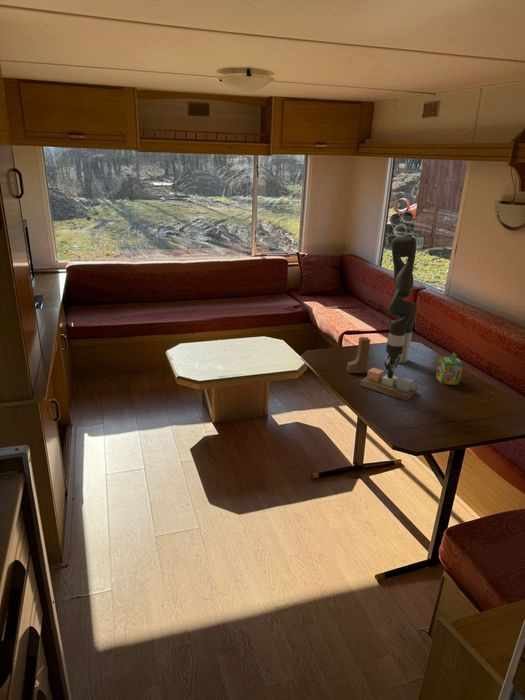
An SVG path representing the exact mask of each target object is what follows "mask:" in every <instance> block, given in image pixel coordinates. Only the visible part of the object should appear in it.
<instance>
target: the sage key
mask: <svg viewBox="0 0 525 700" xmlns="http://www.w3.org/2000/svg"><path fill="white" fill-rule="evenodd" d="M387 375H388V373H387V374H385V375H383V376H384V377H382V382H381V384H383V385H386V386H389V387H394V386H396V385H397V380H398V379H399V377H397V376H394V375H393V377H392V378H388V377H387Z"/></svg>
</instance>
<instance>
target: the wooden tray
mask: <svg viewBox="0 0 525 700" xmlns="http://www.w3.org/2000/svg"><path fill="white" fill-rule="evenodd" d="M384 376H385V375H383V377H384ZM381 382H382V380H381V381H380V382H378V383H377V382H374V381H371V380H368V379H367V376H365V377H364V378H362V379H361V380H360V386H361V387H364V388H366V389H369V390H373V391H376V392H379V393H381V394H384V395H387V396H391V397H393V398H397V399H399V400H401V401H404V402H407V401H408V400H410V399H411V398H412V397H413V396H414V395H416V394H417V392H418V386H416V385H413V386H412V390H411V391H409V392H405V391H402V390H399V389H396V386H397V385H396V386H394V387H389V386H386V385H383V384H381Z"/></svg>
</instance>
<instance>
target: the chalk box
mask: <svg viewBox="0 0 525 700" xmlns="http://www.w3.org/2000/svg"><path fill="white" fill-rule="evenodd" d="M438 359H439V360H438V365H437V368H436V371H435V372H436V373H435V376H434V377H435V378H436V379H437V381H438V382H439V383H440V384H441V385H451V386H452V385H453V386H460V382H461V379H462V378H461V377H462V374H463V373H462V372H463V369H464V363H463V361H461V359H460V358H458V355H457V354H456V353H455V352H452V353H451V355H450V356H439V357H438Z"/></svg>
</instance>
